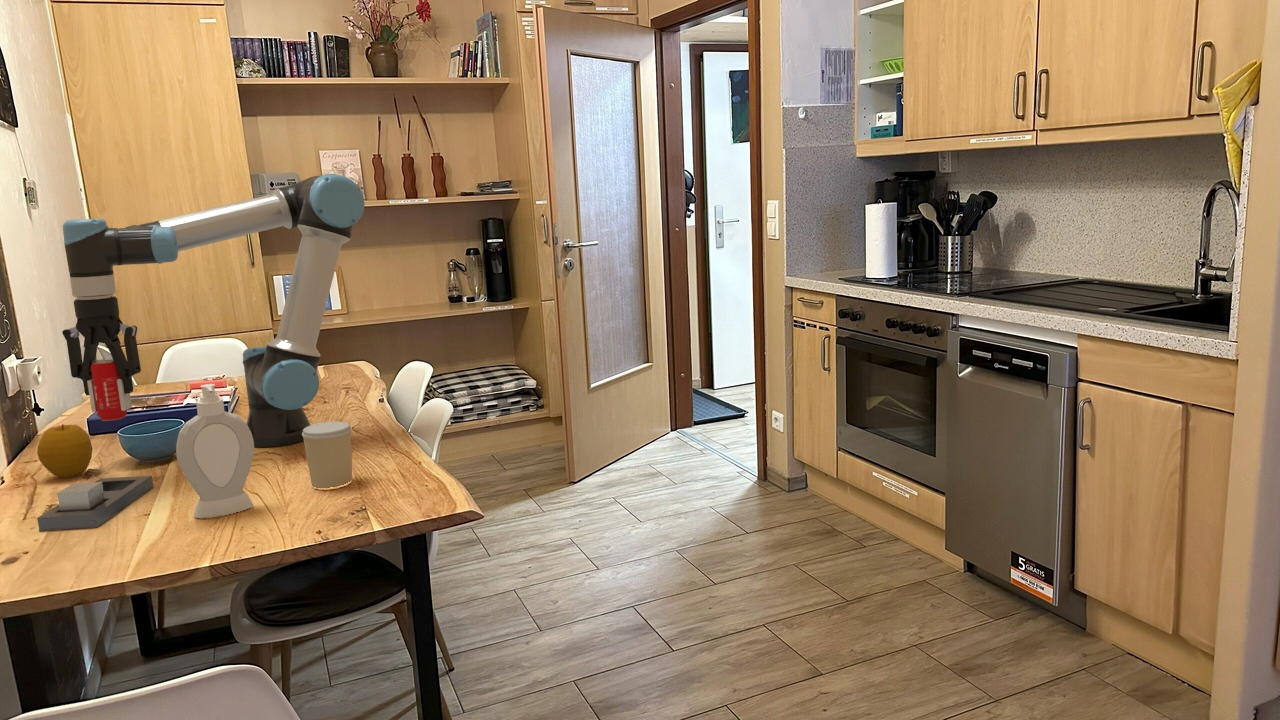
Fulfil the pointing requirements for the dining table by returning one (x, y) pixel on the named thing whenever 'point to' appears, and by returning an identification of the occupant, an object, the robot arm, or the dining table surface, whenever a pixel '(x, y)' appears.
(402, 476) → the dining table surface
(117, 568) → the dining table surface
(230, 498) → the soap bottle
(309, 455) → the coffee cup
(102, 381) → the beverage can
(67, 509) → the grey flat frame
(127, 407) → the robot arm
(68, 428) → the apple
